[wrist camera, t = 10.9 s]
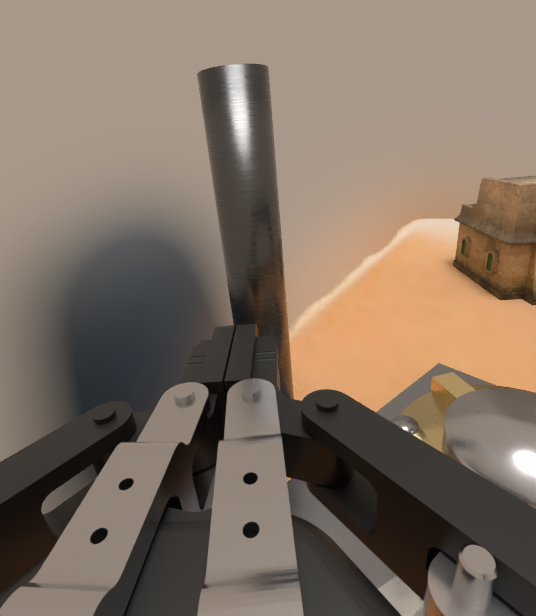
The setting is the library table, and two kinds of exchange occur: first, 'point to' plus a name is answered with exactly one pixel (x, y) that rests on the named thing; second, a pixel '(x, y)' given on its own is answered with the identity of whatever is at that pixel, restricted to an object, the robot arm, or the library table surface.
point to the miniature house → (500, 238)
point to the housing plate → (360, 554)
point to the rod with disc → (272, 296)
